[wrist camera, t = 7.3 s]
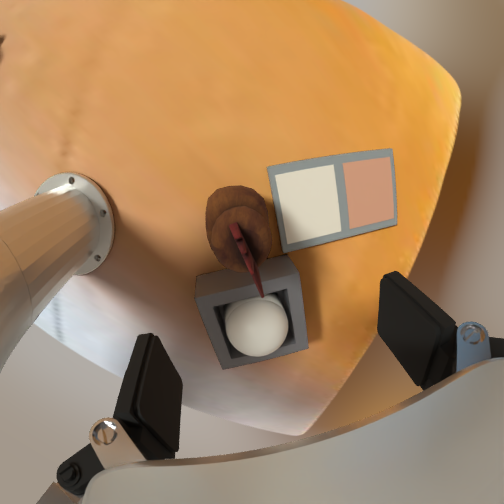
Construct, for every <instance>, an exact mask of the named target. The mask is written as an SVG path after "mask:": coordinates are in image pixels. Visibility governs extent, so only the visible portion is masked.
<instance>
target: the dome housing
mask: <svg viewBox="0 0 504 504" xmlns="http://www.w3.org/2000/svg"><path fill="white" fill-rule="evenodd" d="M258 268H259V273H260V278H261V282H262V287H263V292H264V294H268V293H272V292H276V293H277V295H278V296H279V299H280V301H281V303H282V306H283V308H284V310H285V313H286V315H287V319H288V333H287V336H286V338H285V340H284V342H283V343H282V345H281V346H280V347H279V348H278V349H277V350H275V351H274V352H272V353H270V354H268V355H265V356H259V357H255V356H249V355H246V354H243V353H241V352H240V351H238V350H237V349H236V348H235V347H234V346H233V345H232V344H231V342H230V341H229V339H228V336H227V333H226V326H225V314H224V306H225V304H227V303H232V302H236V301H240V300H244V299H248V298H252V297H256V296H260V293H259V291H258V289H257V287H256V285H255V283H254V281H253V278H252V276H251V274H250V272H244V273H238V272H235V271H232V270H229V269H225V270H220V271H216V272H212V273H208V274H204V275H200V276H197V278H196V288H195V297H194V299H195V301H196V304H197V307H198V309H199V312H200V315H201V317H202V320H203V323H204V325H205V328H206V330H207V333H208V335H209V338H210V340H211V343H212V345H213V348H214V350H215V353H216V355H217V357H218V360H219V362H220V365H221V367H222V369H228V368H233V367H238V366H242V365H247V364H251V363H255V362H260V361H264V360H268V359H272V358H276V357H280V356H283V355H287V354H291V353H294V352H298V351H301V350H305V349H308V348H309V347H308V338H307V329H306V321H305V313H304V305H303V297H302V289H301V282H300V275H299V272H298V270H297V268H296V267H295V265H294V264H293V262H292V261H291V259H290V258H289V256H288V255H287V254H286V255H281V256H277V257H273V258H269V259H266V260H265V261H264V262H263V263H262V264H261V265H260V266H259V267H258Z"/></svg>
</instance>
